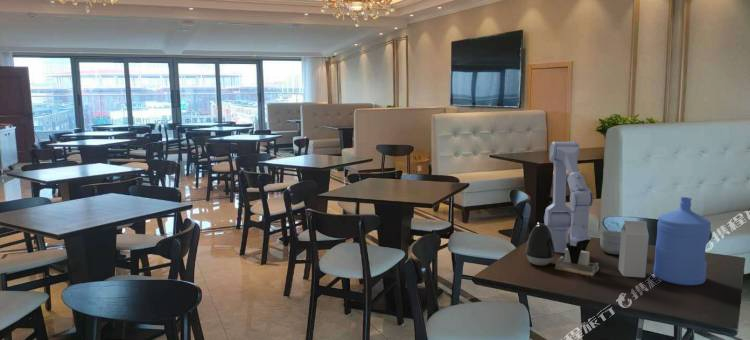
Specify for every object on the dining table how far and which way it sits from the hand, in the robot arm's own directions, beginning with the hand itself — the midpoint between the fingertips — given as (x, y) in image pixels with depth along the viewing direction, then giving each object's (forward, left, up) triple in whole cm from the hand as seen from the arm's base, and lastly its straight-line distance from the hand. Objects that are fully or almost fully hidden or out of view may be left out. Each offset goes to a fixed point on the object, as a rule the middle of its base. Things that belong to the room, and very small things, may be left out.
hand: (577, 260), depth 192 cm
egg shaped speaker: (+2, -13, -3) cm, 14 cm away
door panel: (0, 0, -2) cm, 2 cm away
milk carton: (-6, +17, -3) cm, 18 cm away
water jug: (-11, +31, -3) cm, 33 cm away
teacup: (-28, +8, -3) cm, 29 cm away
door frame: (0, 0, -3) cm, 3 cm away
